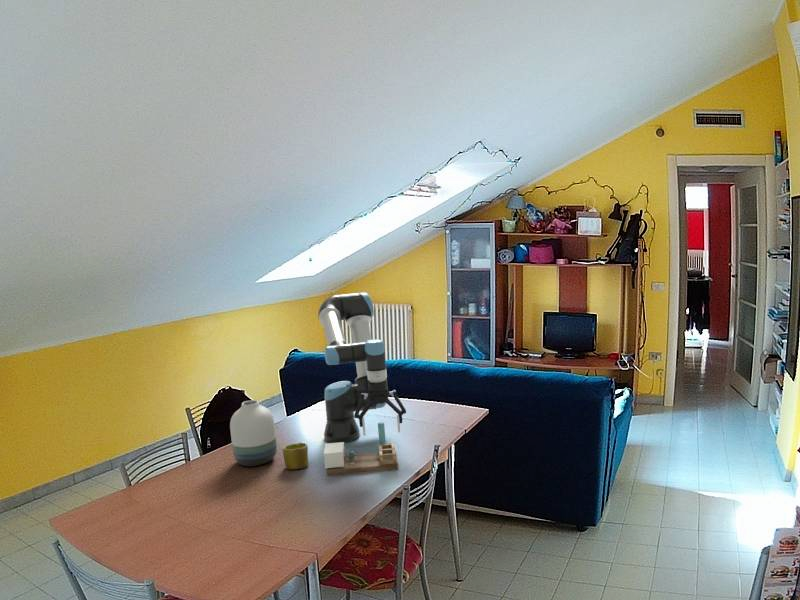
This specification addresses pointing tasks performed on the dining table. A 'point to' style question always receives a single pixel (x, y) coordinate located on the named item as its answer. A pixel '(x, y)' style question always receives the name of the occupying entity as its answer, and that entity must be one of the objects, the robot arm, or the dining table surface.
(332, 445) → the cover
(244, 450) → the vase
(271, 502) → the dining table surface
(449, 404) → the dining table surface
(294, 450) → the mug
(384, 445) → the board
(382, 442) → the peg
